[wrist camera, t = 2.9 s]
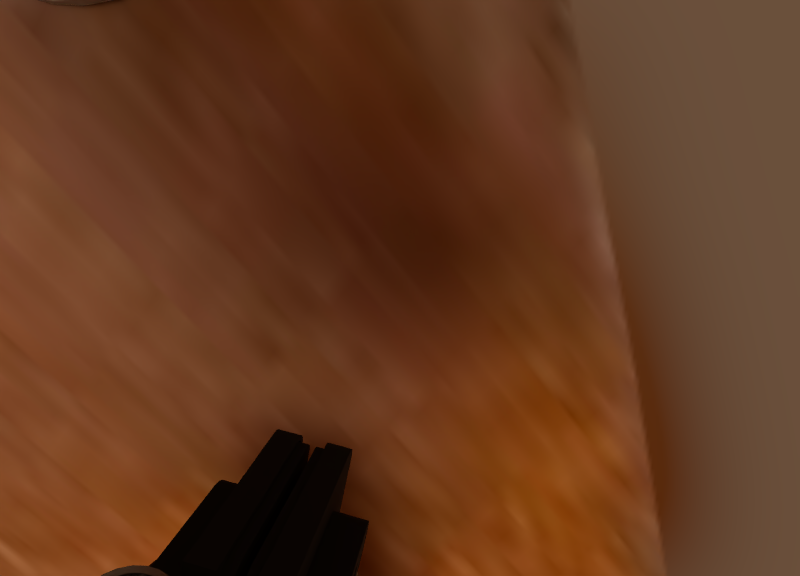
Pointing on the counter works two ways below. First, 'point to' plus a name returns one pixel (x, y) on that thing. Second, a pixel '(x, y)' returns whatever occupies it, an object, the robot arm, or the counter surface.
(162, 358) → the counter surface
